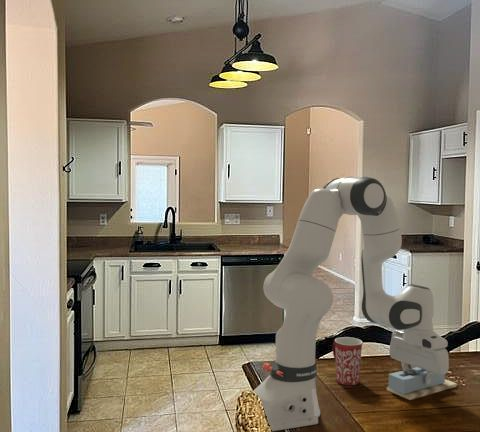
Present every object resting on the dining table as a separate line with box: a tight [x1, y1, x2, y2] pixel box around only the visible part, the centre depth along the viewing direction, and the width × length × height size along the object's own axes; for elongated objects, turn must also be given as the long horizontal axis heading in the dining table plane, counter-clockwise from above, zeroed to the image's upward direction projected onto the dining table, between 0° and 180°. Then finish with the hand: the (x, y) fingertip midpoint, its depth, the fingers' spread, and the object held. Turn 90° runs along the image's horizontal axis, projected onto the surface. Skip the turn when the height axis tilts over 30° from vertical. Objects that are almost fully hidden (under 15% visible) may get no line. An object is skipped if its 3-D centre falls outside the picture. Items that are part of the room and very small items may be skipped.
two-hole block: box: [387, 367, 446, 394], centre depth 159 cm, size 19×6×4 cm, turn 121°
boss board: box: [386, 370, 458, 401], centre depth 160 cm, size 22×9×6 cm, turn 121°
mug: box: [332, 336, 364, 386], centre depth 167 cm, size 13×9×14 cm
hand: (416, 379), depth 159 cm, fingers closed on two-hole block, 6 cm apart
